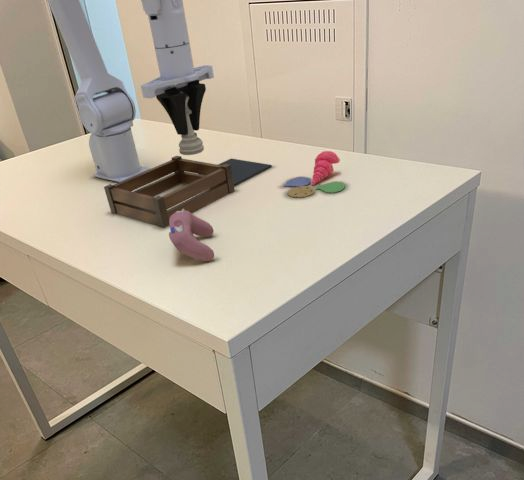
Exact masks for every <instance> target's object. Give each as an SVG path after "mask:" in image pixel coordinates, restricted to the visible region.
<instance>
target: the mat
mask: <svg viewBox="0 0 524 480" xmlns="http://www.w3.org/2000/svg"><path fill="white" fill-rule="evenodd" d="M224 164H229V165H231V169H232V175H233V182H234V187H236V186H238V185H239V184H242V183H243V182H245V181H248V180H249V179H251V178H253V177H255V176H257V175H259V174H261V173H263V172H265V171H267V170H269V169H271V168H272V167H273V165H272V164H268V163H262V162H255V161H250V160H243V159H236V158H229V159H226V160H225V161H223V162H220V163H219V164H218V163H217V165H224ZM200 175H202V174H200ZM205 176H206V175H205Z"/></svg>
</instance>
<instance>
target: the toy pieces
mask: <svg viewBox="0 0 524 480" xmlns="http://www.w3.org/2000/svg"><path fill="white" fill-rule="evenodd" d="M340 161H341V159H340V158H339V156H338V155H337V154H336V153H335V152H334V151H331V150H324V151H321V152H320V153H319V154H317V156H316V157H315V159H314V167H313V172H312V173H313V174H312V181H311V179H310V177H307V176H297V177H293V178H291V179H289V180H287V181H286V182H285V184H283V187H293V188H290V189H289V190H288V191H287V195H288V196H289V197H291V198H306V197H309V196H310V197H311V196H312V195H313V194H314V193H315V190H320V191H323V192H325V193H327V194H332V193H333V194H335V193H339V192H341V191H342V190H344V189H345V188H346V183H344V182H342V181H332V182H327V183H324V184H318V183H319V182H321V181H323V180H324V179H326V178H327V177H328V176H331V175H332V173H333V172H334V166H333V164H334V165H335V164H339V163H340ZM310 183H311V186H309V184H310ZM316 184H317V185H316ZM315 185H316V186H315ZM313 186H315V188H314V187H313Z"/></svg>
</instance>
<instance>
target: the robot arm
mask: <svg viewBox="0 0 524 480" xmlns="http://www.w3.org/2000/svg"><path fill="white" fill-rule="evenodd" d="M140 2H141V5H142V9H143V11H144V13H145V15H147V18H148V23H149V27H150V32H151V37H152V41H153V46H154V52H155V55H156V56H155V57H156V62H157V67H158V71H159V76H158V77H157V78H154V79H152V80H150V81H148V82H146V83H143V84H140V90H141V94H142V97H143V98H144V99H153V98H156V100H157V101H158V102H159V103H160V104H161V106H162V108H163V109H164V110H165V112H166V113H167V115H168V118H170V121H171V122H172V125H173V127H174V129H175V131H176V134H177V135H180V136H181V135H187V134H188V126H187V120H186V110H185V103H186V96H189V99H188V102H187V106H188V107H189V108H188V109H190V110H191V111H192V113H191V114H189V118H190V122H191V125H192V128H193V130H194V132H196V131H199V130H200V121H201V109H202V103H203V100H204V97H205V93H206V91H207V87H206V83H200V82H201V81H204V80H210V79H214V76H215V75H214V69H213V65H211V64H210V65H209V64H208V65H207V64H206V65H205V64H204V65H201V66H196V67H195V65H194V60H193V55H192V49H191V42H190V37H189V31H188V24H187V18H186V13H185V7H184V2H183V0H140ZM47 3H48V5H49V8H50V10H51V13H52V15H53V17H54V19H55V21H56V24H57V27H58V29H59V31H60V33H61V36H62V38H63V41H64V44H65V45H66V46H65V47H66V48H67V51H68V53H69V55H70V58H71V60H72V62H73V65H74V67H75V70H76V72H77V74H78V77H79V79H80V82H81V83H80V85H79V87H78V89H77V91H76V93H75V95H74V100H75V102H76V105H77V109H78V116H79V119H80V121H81V123H82V125H83V127H84V128H85V129H86V130H87V132H89V133H90V135H89V138H88V147H89V151H90V154H91V157H92V161H93V164H94V167H95V171H96V173H94V174H93V176H94V177H95V178H99V179H103V180H108V181H112V182H116V183H119V182H122V181H124V180H126V179H128V178H131V177H133V176H135V175H138V174H140V173H142V172H145V171H147V170H149V169H151V167H148V166H143V165H141V163H140V159H139V155H138V151H137V148H136V143H135V139H134V136H133V135H134V134H133V131H132V127H134V122H133V121H134V120H135V119H136V114H137V111H136V105H135V102H134V100H133V98H132V96H131V95H130V94H129V93H128V91H127V89H126V88H125V85H124V82H123V81H122V80H121V79H120V78H117V77H116V76H114V75H112V74H110V73H109V72H108V69H107V67H106V64H105V61H104V59H103V57H102V54H101V51H100V50H99V47H98V44H97V42H96V39H95V37H94V34H93V32H92V29H91V27H90V25H89V22H88V19H87V17H86V15H85V12H84V9H83V7H82V5H81V2H80V0H47ZM180 92H183V93H180ZM104 93H105V94H104ZM97 95H99V96H97ZM94 96H96V97H94ZM143 98H142V99H143Z"/></svg>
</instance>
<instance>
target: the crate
mask: <svg viewBox="0 0 524 480" xmlns="http://www.w3.org/2000/svg"><path fill="white" fill-rule="evenodd" d="M200 174H202V175H200ZM205 175H206V176H205ZM179 184H184V185H183V186H181V187H179V188H177V189H175V190H173V191H170V192H169V193H166V194H163V195H162V196H161V195H159V194H161V193H162V192H165V191H166V190H169V189H172V188H173V187H175V186H178V185H179ZM103 189H104V192H105V196H106V199H107V203H108V206H109V209H110V213H111V214H114V215H120V216H123V217H126V218H130V219H134V220H138V221H141V222H144V223H149V224H152V225H156V226H158V227H159V228H166V227H169V226H170V225H169V219H170V216H171V215H172V214H174V213H175V212H177V211H182V209H184V210H185V211H189V212H190V213H192V214H193V213H194V212H196V211H198V210H200V209H202V208H203V207H204V208H205V207H206V206H207V205H209V204H211V203H214V202H216V201H217V200H219V199H221V198H223V197H226V196H227V195H229V194H232V193H234V192H235V191H236V190H235V186H234V182H233V175H232V169H231V165H229V164H224V165H218V163H217V164H215V163H211V162H204V161H200V160H199V161H198V160H194V159H187V158H182V156H181V155H175V156H172V157H171V159H170V160H168V161H166V162H163V163H161V164H158V165H155V166H154V167H152V168H150V169H149V170H147V171H145V172H142V173H140V174H138V175H135V176H133V177H131V178H128V179H126V180H124V181H122V182H116V183H115V184H110V183H109V184H107V185H105V186H103ZM156 195H157V196H156Z"/></svg>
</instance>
